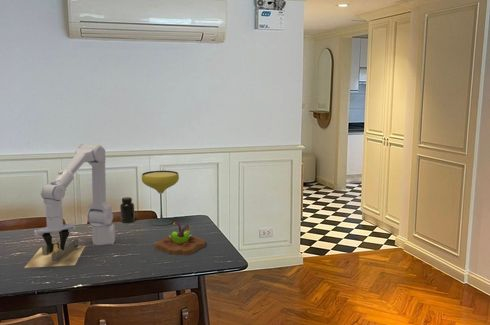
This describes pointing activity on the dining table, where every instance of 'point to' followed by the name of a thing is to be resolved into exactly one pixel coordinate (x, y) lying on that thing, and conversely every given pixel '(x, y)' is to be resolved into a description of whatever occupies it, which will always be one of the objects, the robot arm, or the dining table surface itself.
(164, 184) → the cocktail glass
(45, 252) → the gray block
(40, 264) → the board
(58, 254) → the press lever
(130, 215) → the supplement bottle
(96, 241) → the robot arm
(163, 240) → the plant
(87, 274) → the dining table surface
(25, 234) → the dining table surface
